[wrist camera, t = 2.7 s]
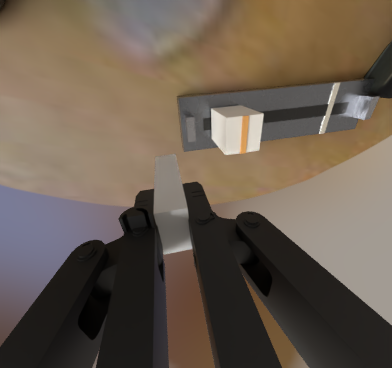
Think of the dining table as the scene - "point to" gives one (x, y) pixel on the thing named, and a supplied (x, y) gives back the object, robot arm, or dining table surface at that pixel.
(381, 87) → the mobile phone
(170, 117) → the dining table surface
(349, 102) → the grey slider track
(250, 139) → the fader
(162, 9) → the dining table surface
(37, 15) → the dining table surface
